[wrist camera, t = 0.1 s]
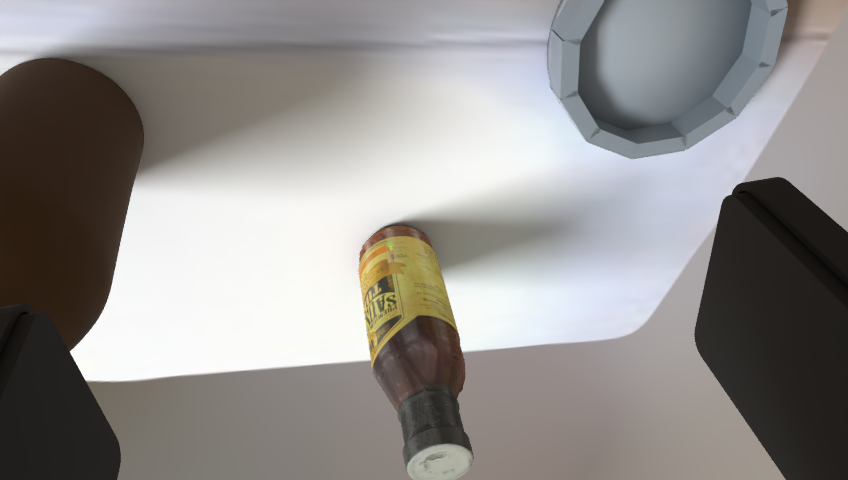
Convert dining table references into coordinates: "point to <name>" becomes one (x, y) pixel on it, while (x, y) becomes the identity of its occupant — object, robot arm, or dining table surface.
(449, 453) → the sauce bottle
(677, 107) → the round tray
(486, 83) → the dining table surface
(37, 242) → the olive oil
